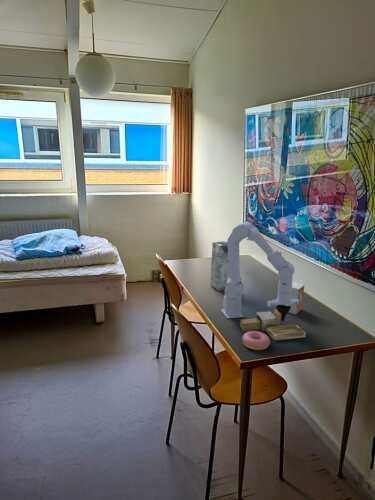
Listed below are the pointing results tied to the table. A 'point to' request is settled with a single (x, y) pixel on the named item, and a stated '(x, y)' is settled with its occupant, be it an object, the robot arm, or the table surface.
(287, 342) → the table surface
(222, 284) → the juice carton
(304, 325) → the table surface
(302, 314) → the table surface
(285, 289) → the robot arm
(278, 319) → the salmon pink block
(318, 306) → the table surface
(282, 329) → the beige tray
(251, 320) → the olive rectangular pillar
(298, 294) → the small box
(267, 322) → the socket sleeve
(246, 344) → the doughnut
